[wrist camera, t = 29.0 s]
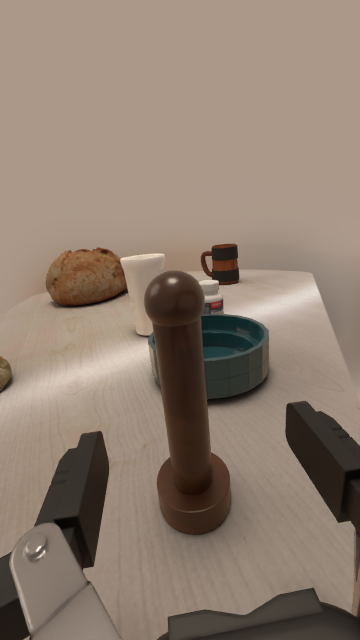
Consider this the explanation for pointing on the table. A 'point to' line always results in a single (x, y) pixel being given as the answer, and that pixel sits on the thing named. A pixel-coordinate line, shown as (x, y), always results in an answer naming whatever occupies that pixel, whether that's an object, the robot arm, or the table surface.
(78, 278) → the bread
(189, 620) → the robot arm
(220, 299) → the pill bottle
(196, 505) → the pestle
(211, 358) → the bowl
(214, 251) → the mug
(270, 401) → the table surface
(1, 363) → the pastry
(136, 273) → the cup
